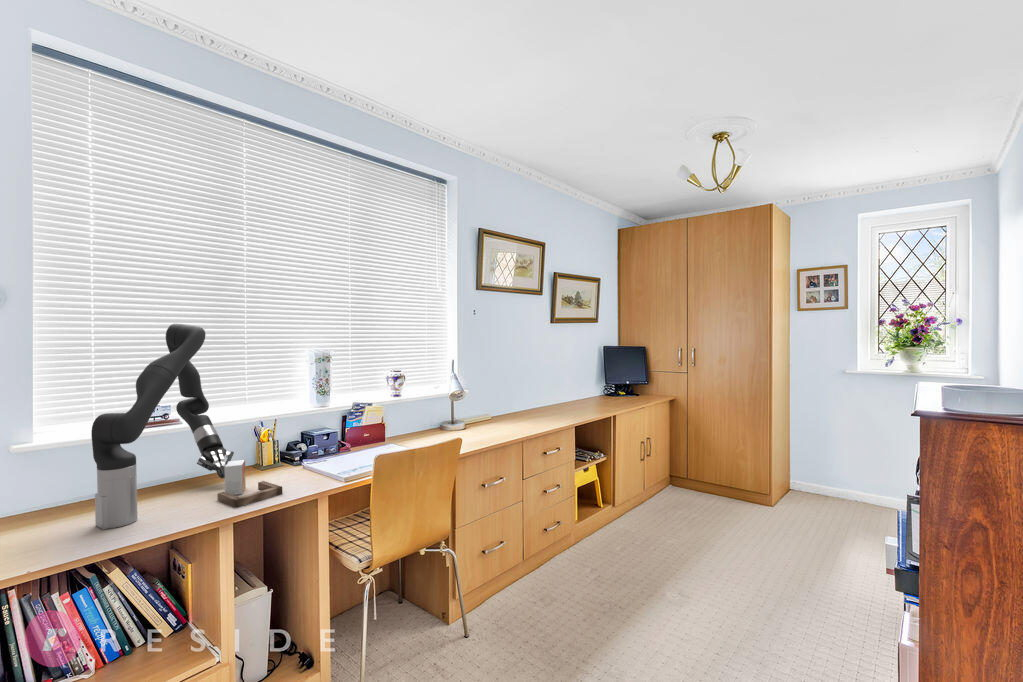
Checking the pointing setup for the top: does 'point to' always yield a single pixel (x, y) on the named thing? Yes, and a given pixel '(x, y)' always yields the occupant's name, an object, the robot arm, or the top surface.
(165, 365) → the robot arm
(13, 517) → the top surface
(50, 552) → the top surface
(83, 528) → the top surface
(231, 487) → the small box
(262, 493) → the walnut bay
